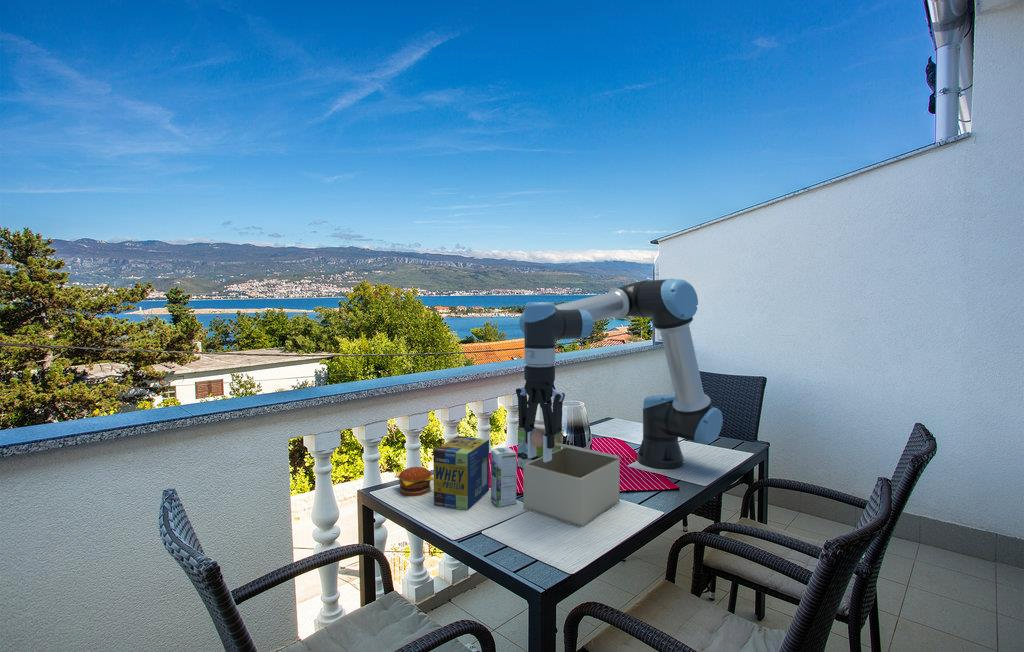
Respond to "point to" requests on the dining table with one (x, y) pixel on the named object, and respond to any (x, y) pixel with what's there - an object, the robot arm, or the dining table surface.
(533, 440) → the lid
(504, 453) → the syrup box
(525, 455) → the tea box
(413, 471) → the hamburger
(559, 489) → the carton
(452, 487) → the protein box
